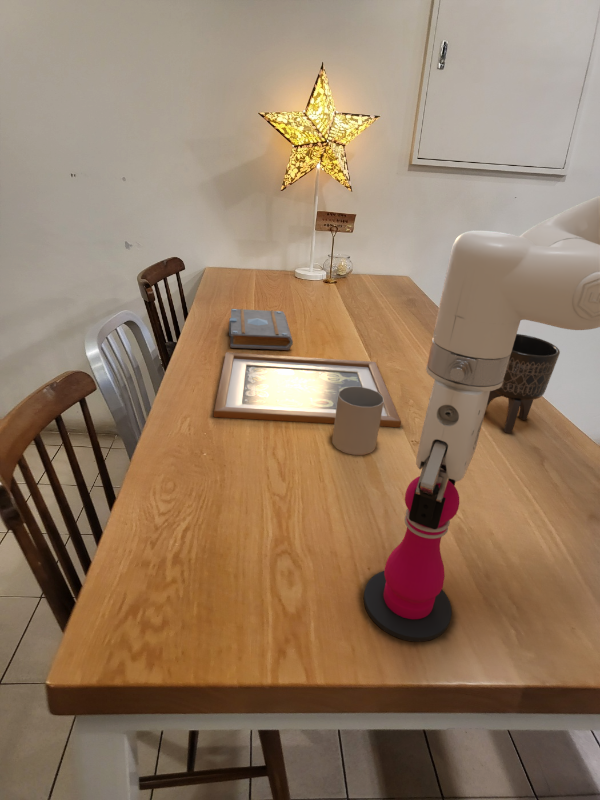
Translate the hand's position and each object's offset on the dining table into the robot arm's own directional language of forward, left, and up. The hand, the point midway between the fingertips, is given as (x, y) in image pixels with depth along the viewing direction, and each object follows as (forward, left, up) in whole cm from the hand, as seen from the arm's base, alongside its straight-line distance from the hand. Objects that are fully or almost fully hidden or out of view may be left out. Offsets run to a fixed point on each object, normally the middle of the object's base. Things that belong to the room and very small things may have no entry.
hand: (431, 505), depth 61 cm
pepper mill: (0, 0, -15) cm, 15 cm away
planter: (-46, -41, -16) cm, 64 cm away
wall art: (-7, -62, -16) cm, 64 cm away
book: (-5, -96, -16) cm, 97 cm away
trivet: (0, 0, -16) cm, 16 cm away
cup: (-9, -38, -16) cm, 42 cm away
